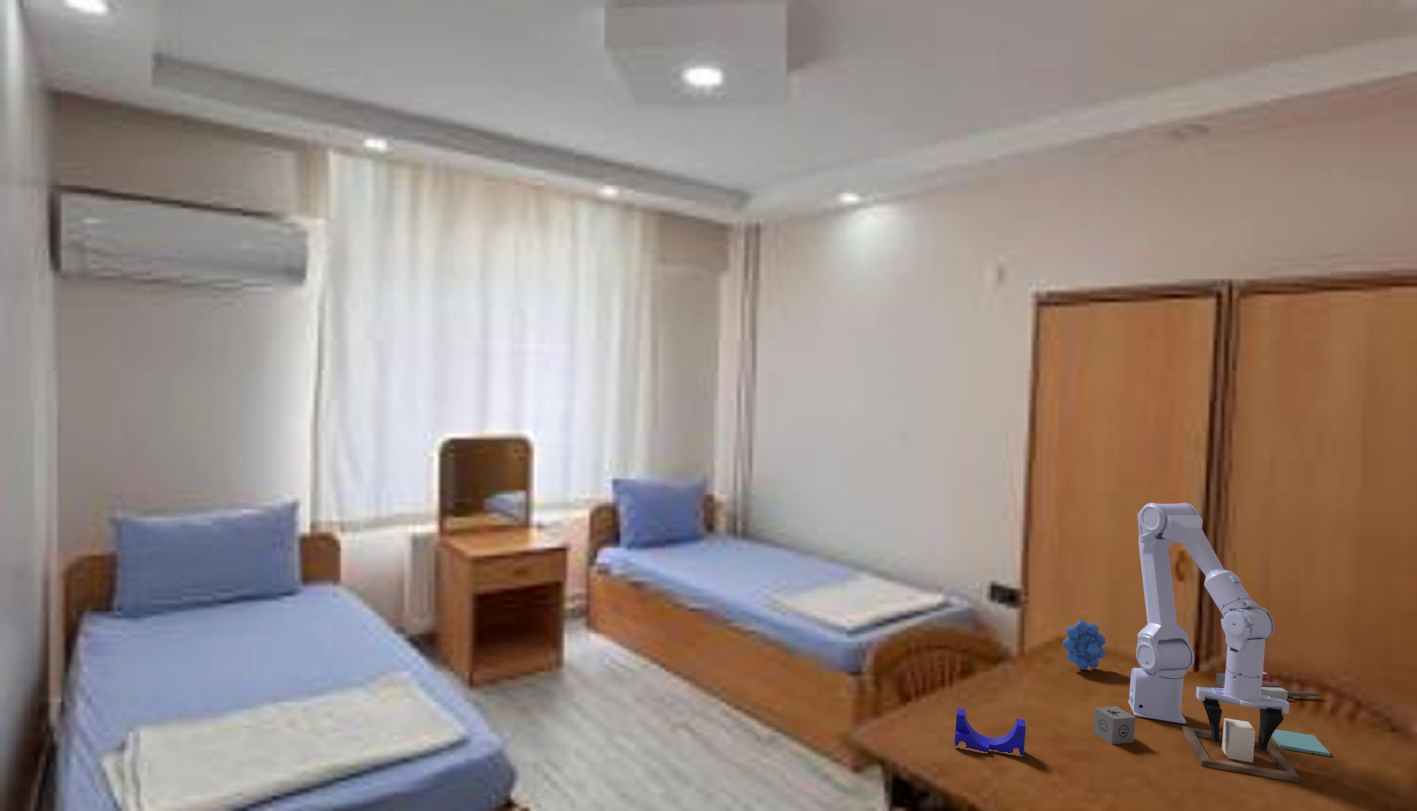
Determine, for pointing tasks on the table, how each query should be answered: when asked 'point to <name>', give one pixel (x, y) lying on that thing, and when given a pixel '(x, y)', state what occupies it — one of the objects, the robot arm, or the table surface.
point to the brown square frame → (1283, 774)
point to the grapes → (1084, 645)
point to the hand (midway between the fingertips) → (1238, 743)
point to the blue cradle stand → (985, 743)
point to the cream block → (1238, 740)
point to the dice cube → (1114, 725)
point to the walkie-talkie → (1269, 687)
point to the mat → (1299, 742)
